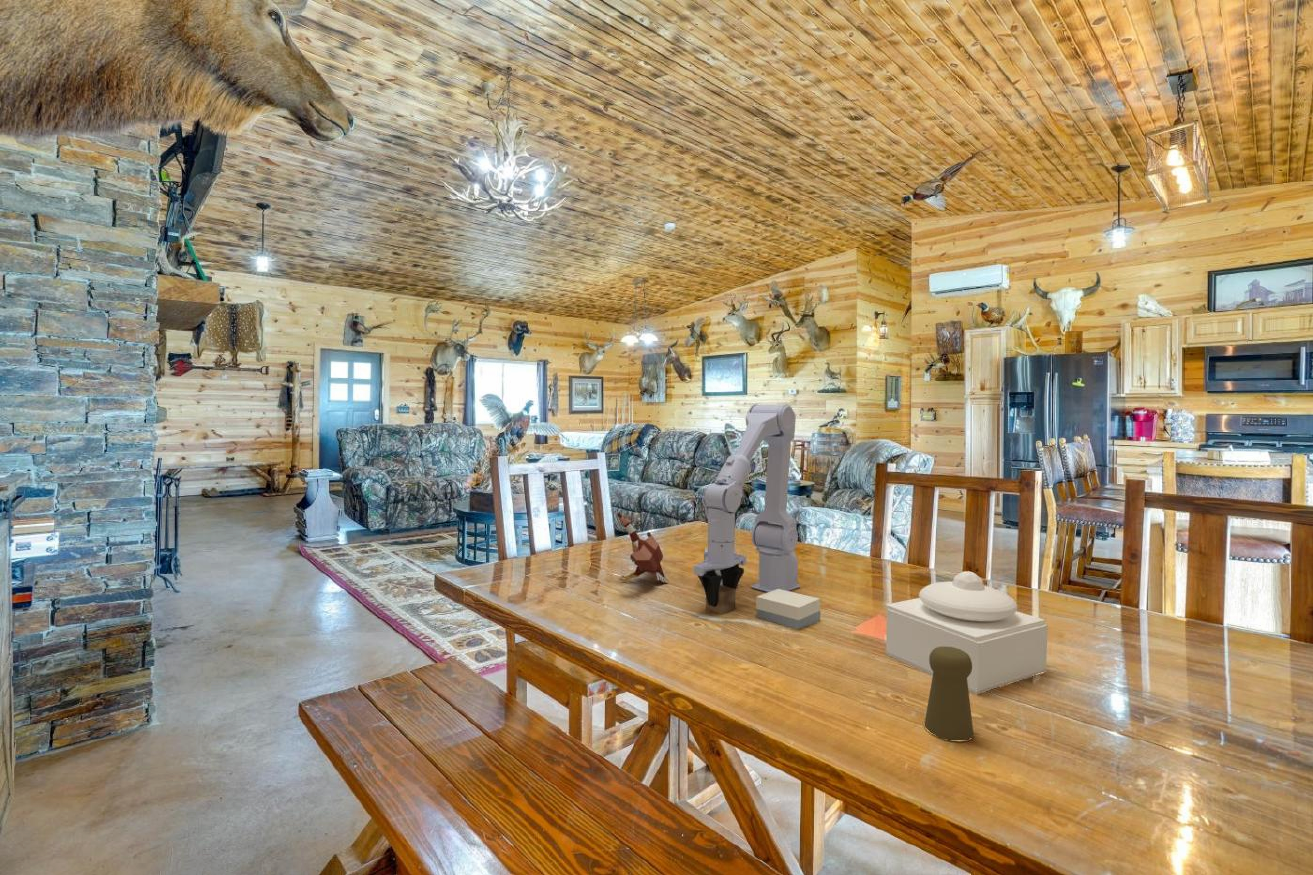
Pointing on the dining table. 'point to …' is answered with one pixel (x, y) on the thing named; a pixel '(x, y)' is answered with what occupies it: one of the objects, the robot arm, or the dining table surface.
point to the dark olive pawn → (949, 694)
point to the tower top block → (788, 604)
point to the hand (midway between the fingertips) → (720, 602)
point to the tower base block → (789, 619)
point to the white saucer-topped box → (968, 631)
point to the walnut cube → (724, 600)
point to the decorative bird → (644, 554)
